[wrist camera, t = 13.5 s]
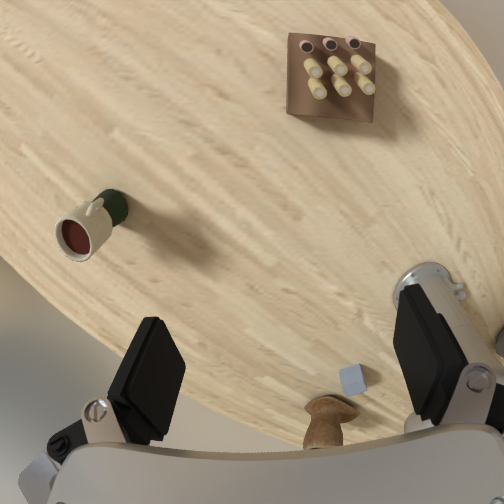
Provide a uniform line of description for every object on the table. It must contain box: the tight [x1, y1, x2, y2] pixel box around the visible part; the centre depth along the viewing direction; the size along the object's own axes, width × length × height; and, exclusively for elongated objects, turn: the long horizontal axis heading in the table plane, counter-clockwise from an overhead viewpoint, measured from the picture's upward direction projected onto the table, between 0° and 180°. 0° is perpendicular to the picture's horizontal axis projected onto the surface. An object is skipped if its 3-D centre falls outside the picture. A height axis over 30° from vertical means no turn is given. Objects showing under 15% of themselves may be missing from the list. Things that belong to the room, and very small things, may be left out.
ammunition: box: [299, 36, 376, 99], centre depth 28 cm, size 5×7×8 cm
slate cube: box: [339, 363, 367, 397], centre depth 60 cm, size 5×5×5 cm
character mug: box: [54, 189, 128, 262], centre depth 41 cm, size 11×7×13 cm, turn 141°
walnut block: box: [286, 33, 375, 123], centre depth 33 cm, size 11×11×5 cm
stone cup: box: [303, 396, 360, 450], centre depth 64 cm, size 15×12×15 cm
